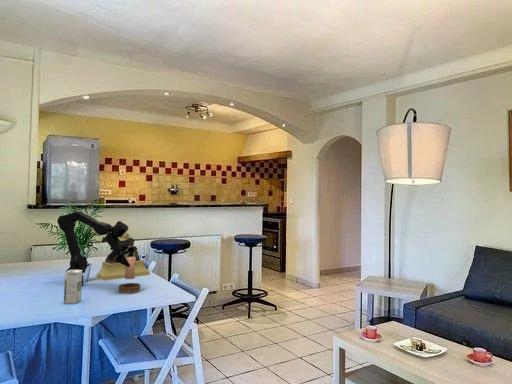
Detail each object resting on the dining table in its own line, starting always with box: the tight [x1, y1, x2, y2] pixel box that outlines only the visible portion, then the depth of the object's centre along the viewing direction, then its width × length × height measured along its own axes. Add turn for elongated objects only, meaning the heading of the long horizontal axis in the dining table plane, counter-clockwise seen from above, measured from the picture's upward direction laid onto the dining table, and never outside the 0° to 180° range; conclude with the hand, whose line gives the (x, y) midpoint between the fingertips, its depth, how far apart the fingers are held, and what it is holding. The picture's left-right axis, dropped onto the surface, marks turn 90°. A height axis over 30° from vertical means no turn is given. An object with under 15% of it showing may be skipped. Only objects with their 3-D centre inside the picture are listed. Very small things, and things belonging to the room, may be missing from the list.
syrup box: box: [63, 270, 83, 305], centre depth 177 cm, size 6×6×14 cm
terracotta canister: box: [124, 256, 136, 280], centre depth 199 cm, size 5×5×11 cm
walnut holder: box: [118, 282, 141, 295], centre depth 198 cm, size 10×10×3 cm
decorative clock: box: [96, 231, 151, 281], centre depth 235 cm, size 28×13×30 cm, turn 130°
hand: (132, 265), depth 198 cm, fingers closed on terracotta canister, 5 cm apart
